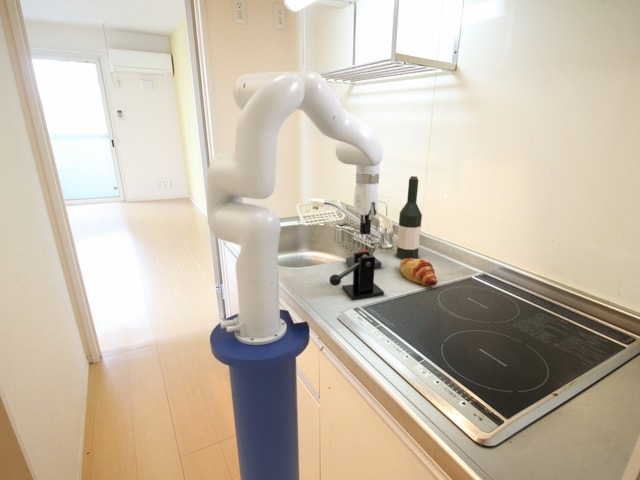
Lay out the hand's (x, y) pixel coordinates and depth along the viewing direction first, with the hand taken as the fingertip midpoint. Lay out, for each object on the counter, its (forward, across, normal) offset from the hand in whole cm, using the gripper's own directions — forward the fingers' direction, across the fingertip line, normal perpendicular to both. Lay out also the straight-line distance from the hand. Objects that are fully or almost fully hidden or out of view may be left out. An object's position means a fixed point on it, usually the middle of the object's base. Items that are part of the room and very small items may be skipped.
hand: (365, 233), depth 124 cm
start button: (+8, 0, 0) cm, 8 cm away
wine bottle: (+12, -4, +20) cm, 23 cm away
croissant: (+12, +15, +13) cm, 23 cm away
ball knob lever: (+5, +20, -13) cm, 25 cm away
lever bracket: (+12, +20, -9) cm, 25 cm away
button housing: (+12, 0, 0) cm, 12 cm away
